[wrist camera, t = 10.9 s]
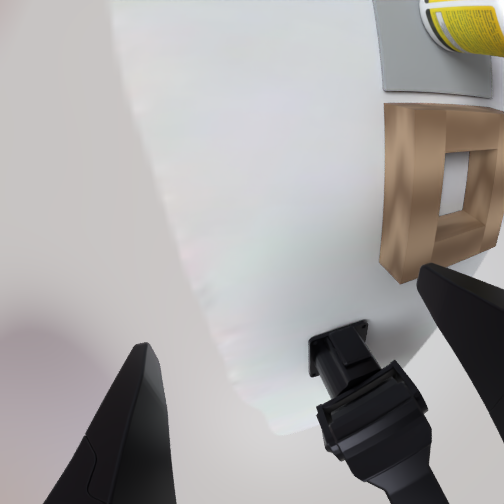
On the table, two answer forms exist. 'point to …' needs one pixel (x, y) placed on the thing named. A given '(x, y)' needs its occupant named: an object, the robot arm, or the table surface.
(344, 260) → the table surface
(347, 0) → the table surface
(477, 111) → the holder block
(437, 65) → the slate mat
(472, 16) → the pill bottle
